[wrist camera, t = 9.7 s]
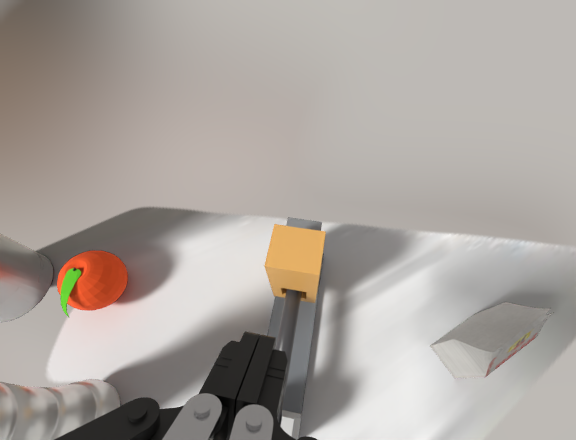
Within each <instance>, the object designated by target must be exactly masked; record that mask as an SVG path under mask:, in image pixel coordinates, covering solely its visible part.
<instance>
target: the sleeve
mask: <svg viewBox="0 0 576 440" xmlns="http://www.w3.org/2000/svg"><path fill="white" fill-rule="evenodd" d="M325 233H326V232H325V231H318V230H311V229H304V228H297V227H291V226H284V225H277V224H274V228H273V232H272V237H271V241H270V245H269V249H268V253H267V258H266V262H265V269H266V272H267V275H268V278H269V282H270V285H271V288H272V291H273V294H274V296H278V297H283V298H285V296H286V290H287V289H291V290H297V291H302V295H301V301H306V302H311V303H315V301H316V295H317V289H318V282H319V276H320V269H321V262H322V255H323V248H324V241H325Z"/></svg>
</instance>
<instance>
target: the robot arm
mask: <svg viewBox="0 0 576 440" xmlns="http://www.w3.org/2000/svg"><path fill="white" fill-rule="evenodd" d="M52 279H53V267H52V264H51V262H50V260H49V259H48V258H47V257H46V256H44V255H42V254H40V253H38V252H36V251H34V250H32V249H30V248H28V247H26V246H24V245H22V244H20V243H18V242H16V241H14V240H12V239H10V238H8V237H6V236H4V235H2V234H0V322H7V321H12V320H14V319H17V318H19V317H21V316H23V315H24V314H26V313H28V312H29V311H30V310H31V309H33V308H34V307H35V306H36V305H37V304H38V303H39V302H40V301H41V300H42V299H43V297H44V296H45V294H46V293H47V291H48V289H49V287H50V285H51V282H52ZM275 348H276V337H271V336H266V335H260V334H256V333H251V332H244V334H243V336H242V339H241V341H240V342H236V341H231V342H229V343H228V344H227V345H226V346H224V347H223V349H222V351H221V353H220V354H219V356H218V358H217V360H216V362H215V365H214V366H213V368H212V370H211V372H210V373H209V375H208V377H207V379H206V381H205V383H204V385H203V387H202V389H201V390H200V392H199V394H198V395H196V396H194V397H192V398H191V399H189V400H188V401H187V403H186V404H185V405H184V406H181V407H177V408H168V409H159V405H158V403H157V402H156V401H155V400H154V399H151V398H138V399H135V400H133V401H130V402H128V403H126V404H124V405H122V406H120V407H118V408H116V409H114V410H112V411H110V412H108V413H106V414H104V415H102V416H100V417H98V418H96V419H94V420H92V421H90V422H88V423H86V424H84V425H82V426H80V427H78V428H76V429H74V430H72V431H70V432H68V433H66V434H64V435H62V436H60V437H58V438H56V439H54V440H296V439H295V438H293V437H291V436H290V435H288V434H287V433H286V432H285V431H284V430H283V429H282V428H281V426H280V424H279V422H278V415H279V410H280V405H281V401H282V396H283V391H284V385H285V378H286V370H287V363H288V360H287V357H286V353H285V351H280V350H275ZM297 440H317V439H315V438H313V437H301V438H299V439H297Z"/></svg>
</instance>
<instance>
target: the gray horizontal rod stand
mask: <svg viewBox="0 0 576 440" xmlns="http://www.w3.org/2000/svg"><path fill="white" fill-rule="evenodd" d="M286 226H291V227H297V228H304V229H311V230H318V231H321V226H322V222H318V221H311V220H304V219H297V218H290V217H288V220H287V225H286ZM323 255H324V253H323ZM323 255H322V262H323ZM322 262H321V269H322ZM321 269H320V276H321ZM320 276H319V282H318V289H317V295H316V301H315V303H311V302H306V301H301V295H302V291H297V290H291V289H287V290H286V296H285V298H283V297H278V296H275V301H274V305H273V310H272V315H271V320H270V325H269V330H268V334H267V336H271V337H276V348H275V350H280V351H285V353H286V357H287V360H288V363H287V370H286V378H285V385H284V391H283V396H282V401H281V405H280V410H279V415H278V422H279V424H280V426H281V428H282V429H283V430H284V431H285V432H286V433H287V434H288V435H290V436H291V437H293V438H295V439H296V440H297V439H298V438H299V431H300V424H301V413H302V406H303V399H304V392H305V384H306V377H307V370H308V363H309V356H310V348H311V341H312V334H313V327H314V319H315V312H316V305H317V298H318V291H319V283H320Z"/></svg>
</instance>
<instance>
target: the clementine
mask: <svg viewBox="0 0 576 440" xmlns="http://www.w3.org/2000/svg"><path fill="white" fill-rule="evenodd" d="M127 282H128V274H127V270H126V266H125V265H124V263H123V262H122V261H121V260H120V259H119V258H118V257H117V256H115V255H114V254H111V253H109V252H106V251H87V252H83V253H81V254H79V255H76V256H74V257H73V258H71V259H70V260H69V261H68V262H67V263H66V264H65V265H64V266H63V267H62V269H61V270H60V273H59V275H58V281H57V288H58V292H59V294H60V295H61V305H62V308H63V311H64V312H65V314H66V315H67V316H68V313H67V308H66V307H67V304H69V305H70V306H72V307H74V308H77V309H80V310H97V309H101V308H104V307H106V306H108V305H110V304H112V303H113V302H115V301H116V300H117V299H118V298H119V297H120V296H121V295H122V293H123V292H124V290H125V288H126V285H127ZM68 317H69V316H68Z"/></svg>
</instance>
